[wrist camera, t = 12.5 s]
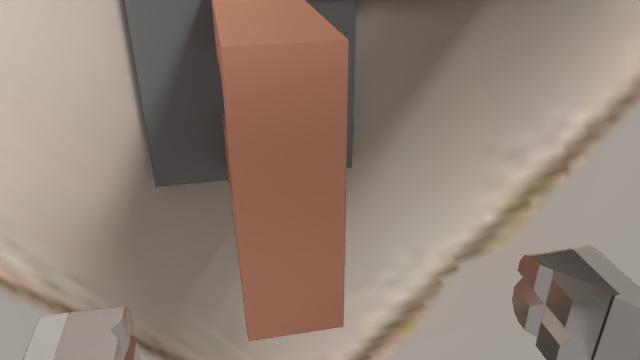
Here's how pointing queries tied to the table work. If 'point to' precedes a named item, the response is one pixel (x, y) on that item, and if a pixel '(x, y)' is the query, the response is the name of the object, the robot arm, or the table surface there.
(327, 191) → the link
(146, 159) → the table surface
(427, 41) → the table surface
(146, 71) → the coaster
